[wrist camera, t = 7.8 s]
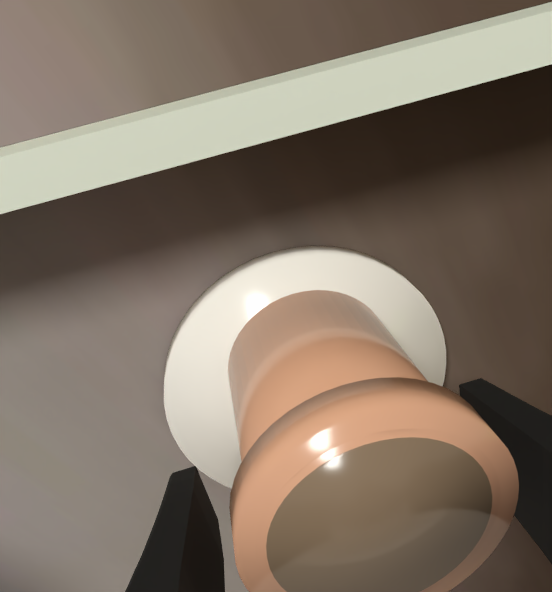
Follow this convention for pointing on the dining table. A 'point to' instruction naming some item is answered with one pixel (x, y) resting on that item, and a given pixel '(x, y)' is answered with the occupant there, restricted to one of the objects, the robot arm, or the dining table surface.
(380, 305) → the saucer
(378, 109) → the rectangular frame
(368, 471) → the terracotta pot
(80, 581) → the dining table surface
